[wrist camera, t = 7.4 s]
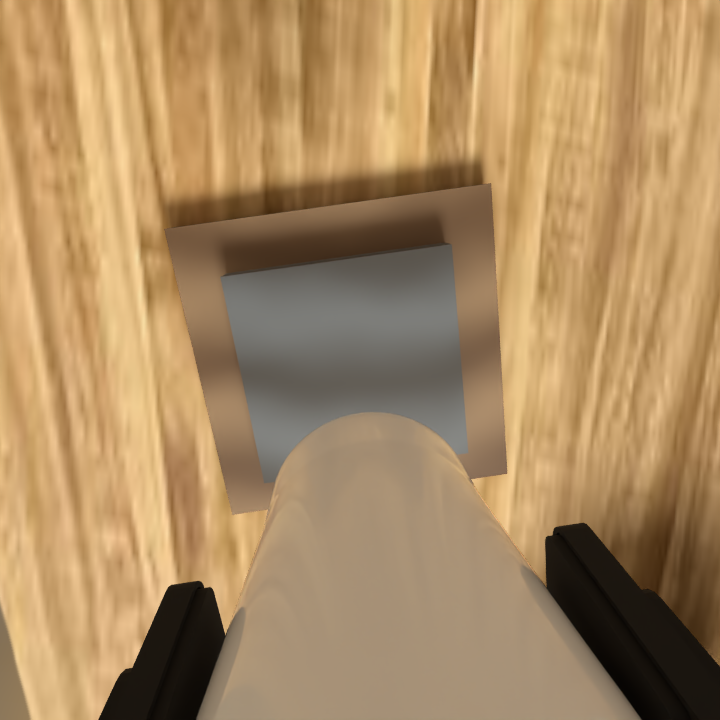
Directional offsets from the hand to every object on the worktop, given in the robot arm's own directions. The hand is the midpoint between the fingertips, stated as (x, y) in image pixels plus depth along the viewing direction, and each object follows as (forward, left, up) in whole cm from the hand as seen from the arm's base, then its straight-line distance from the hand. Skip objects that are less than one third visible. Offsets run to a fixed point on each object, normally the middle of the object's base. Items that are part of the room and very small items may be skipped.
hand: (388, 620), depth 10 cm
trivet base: (0, 0, -19) cm, 19 cm away
